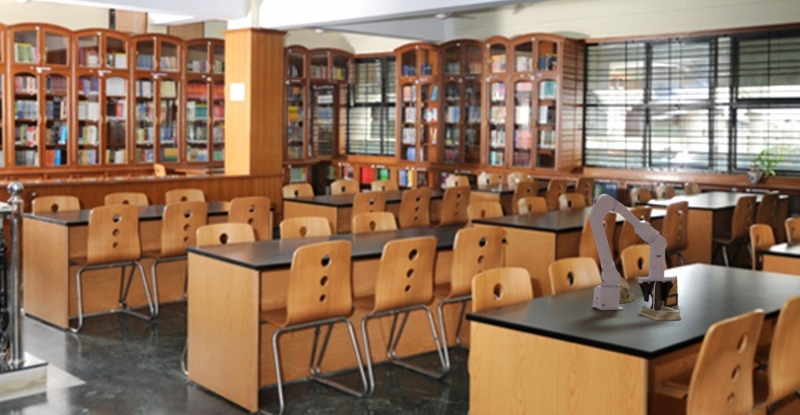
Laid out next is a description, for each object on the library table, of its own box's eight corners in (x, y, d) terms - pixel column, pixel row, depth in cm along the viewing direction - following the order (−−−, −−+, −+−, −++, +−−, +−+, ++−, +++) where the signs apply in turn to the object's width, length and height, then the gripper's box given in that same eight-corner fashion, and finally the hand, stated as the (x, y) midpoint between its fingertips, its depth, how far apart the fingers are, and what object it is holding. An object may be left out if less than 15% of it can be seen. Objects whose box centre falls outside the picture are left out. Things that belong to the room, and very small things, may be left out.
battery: (654, 308, 357) (655, 279, 356) (663, 309, 354) (664, 280, 353) (646, 310, 351) (647, 281, 350) (655, 312, 349) (656, 282, 348)
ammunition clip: (664, 308, 357) (666, 278, 356) (660, 308, 358) (661, 277, 357) (677, 305, 364) (679, 275, 363) (673, 304, 366) (675, 275, 365)
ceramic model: (618, 304, 365) (619, 279, 364) (595, 300, 373) (596, 275, 372) (638, 300, 374) (639, 276, 373) (615, 296, 382) (616, 273, 381)
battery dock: (656, 320, 333) (656, 311, 333) (639, 313, 344) (639, 305, 344) (680, 319, 335) (681, 311, 335) (663, 313, 347) (663, 305, 347)
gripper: (645, 267, 346) (643, 303, 347) (679, 267, 350) (677, 302, 351) (635, 265, 352) (634, 300, 354) (669, 264, 356) (667, 299, 357)
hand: (655, 301), depth 352 cm, fingers open, 7 cm apart
